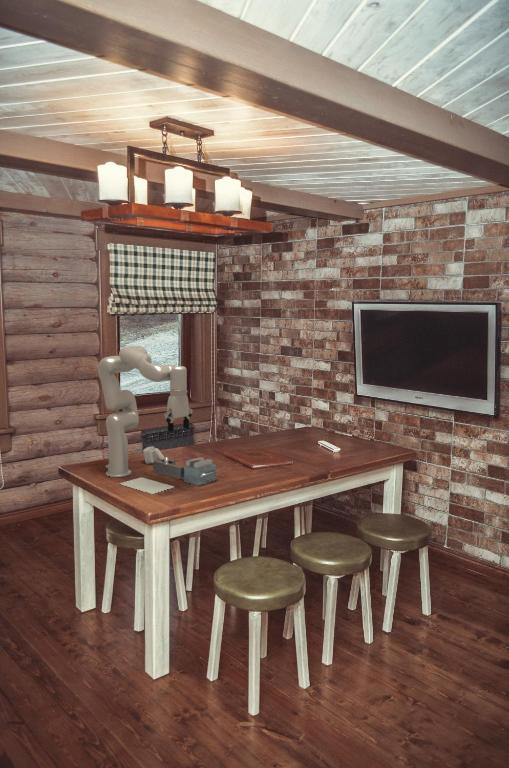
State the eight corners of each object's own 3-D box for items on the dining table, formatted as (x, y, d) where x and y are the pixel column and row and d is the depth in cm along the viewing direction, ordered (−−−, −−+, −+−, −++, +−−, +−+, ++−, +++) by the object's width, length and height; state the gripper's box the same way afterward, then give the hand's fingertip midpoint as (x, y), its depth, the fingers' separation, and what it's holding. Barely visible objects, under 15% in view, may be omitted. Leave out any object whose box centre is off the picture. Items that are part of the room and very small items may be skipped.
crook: (153, 472, 304) (153, 461, 303) (166, 469, 311) (166, 457, 310) (180, 479, 292) (180, 468, 291) (193, 476, 299) (193, 464, 298)
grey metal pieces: (155, 474, 301) (155, 454, 300) (172, 469, 310) (172, 450, 309) (200, 486, 281) (200, 465, 280) (217, 481, 290) (218, 460, 289)
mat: (118, 484, 283) (118, 483, 283) (141, 478, 294) (141, 477, 294) (152, 494, 268) (152, 493, 268) (175, 487, 279) (174, 486, 279)
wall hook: (164, 464, 317) (160, 446, 317) (146, 468, 320) (142, 450, 319) (169, 461, 325) (165, 443, 325) (152, 464, 328) (148, 446, 327)
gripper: (186, 390, 281) (186, 425, 283) (158, 394, 267) (158, 431, 270) (197, 392, 276) (197, 428, 278) (169, 395, 263) (170, 433, 265)
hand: (178, 429), depth 274 cm, fingers open, 9 cm apart
